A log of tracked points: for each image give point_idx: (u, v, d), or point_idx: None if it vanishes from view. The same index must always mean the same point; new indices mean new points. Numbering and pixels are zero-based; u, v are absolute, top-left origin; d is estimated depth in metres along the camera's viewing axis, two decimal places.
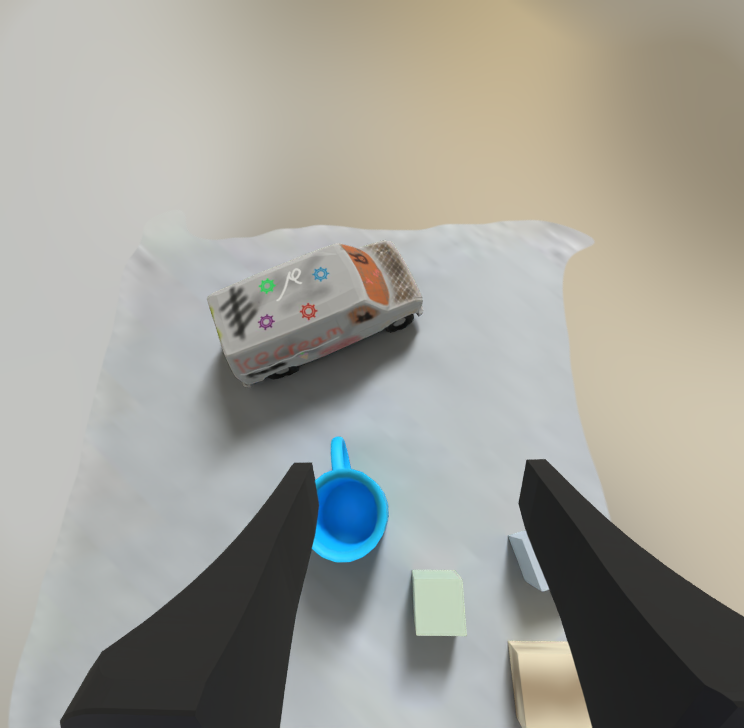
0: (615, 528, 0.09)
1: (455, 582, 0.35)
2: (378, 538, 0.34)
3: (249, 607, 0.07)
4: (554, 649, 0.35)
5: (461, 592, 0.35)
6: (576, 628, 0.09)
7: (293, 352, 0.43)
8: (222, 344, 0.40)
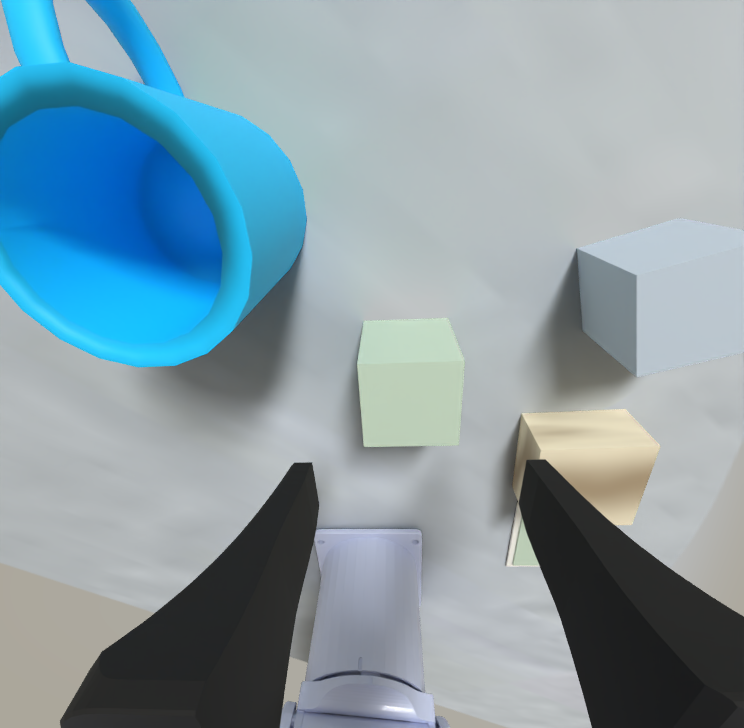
0: (615, 528, 0.09)
1: (448, 367, 0.16)
2: (237, 308, 0.11)
3: (249, 607, 0.07)
4: (602, 433, 0.20)
5: (459, 383, 0.16)
6: (576, 628, 0.09)
7: None
8: None
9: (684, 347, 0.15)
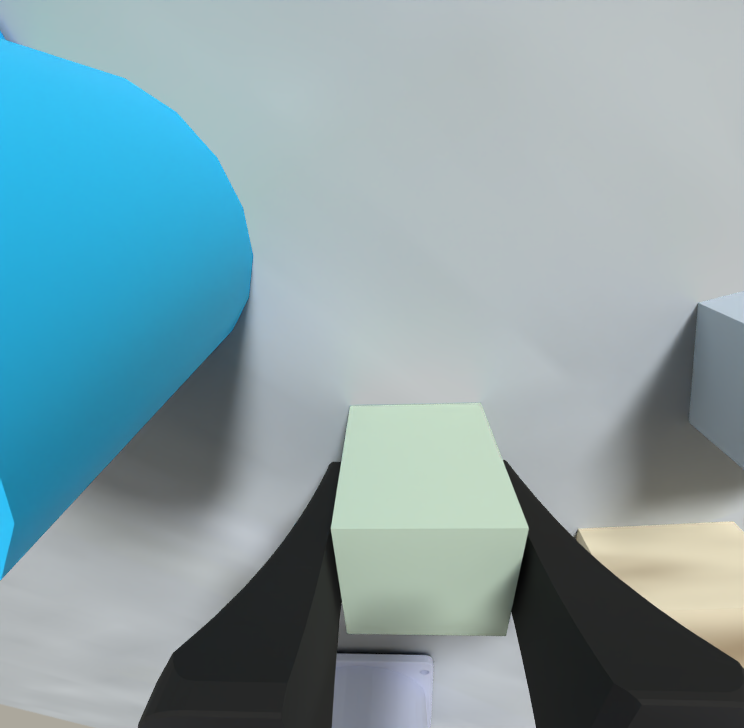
0: (561, 528, 0.09)
1: (498, 536, 0.09)
2: None
3: (312, 608, 0.07)
4: (712, 574, 0.13)
5: (515, 558, 0.09)
6: (524, 627, 0.09)
7: None
8: None
9: None
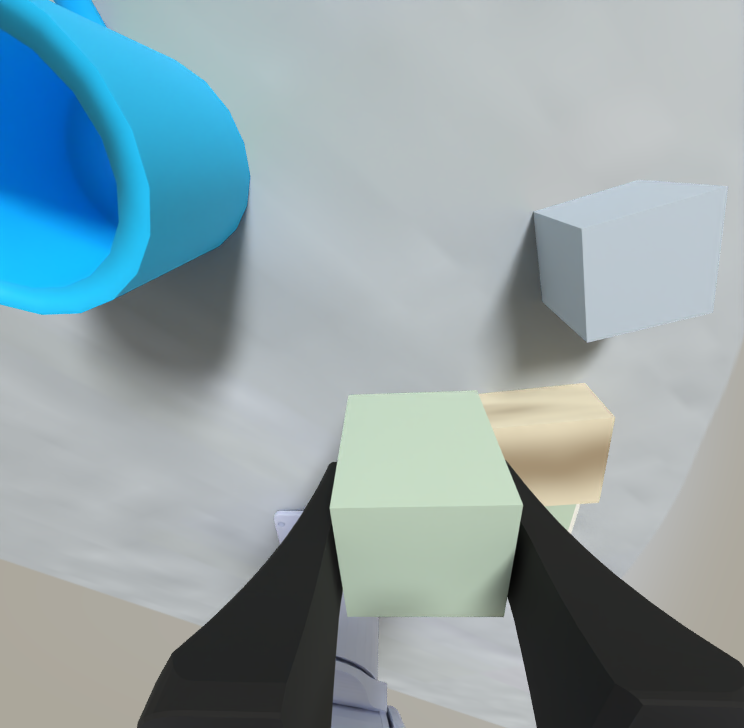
0: (561, 528, 0.09)
1: (493, 513, 0.09)
2: (140, 247, 0.11)
3: (311, 608, 0.07)
4: (557, 408, 0.20)
5: (510, 536, 0.09)
6: (524, 627, 0.09)
7: None
8: None
9: (635, 310, 0.14)
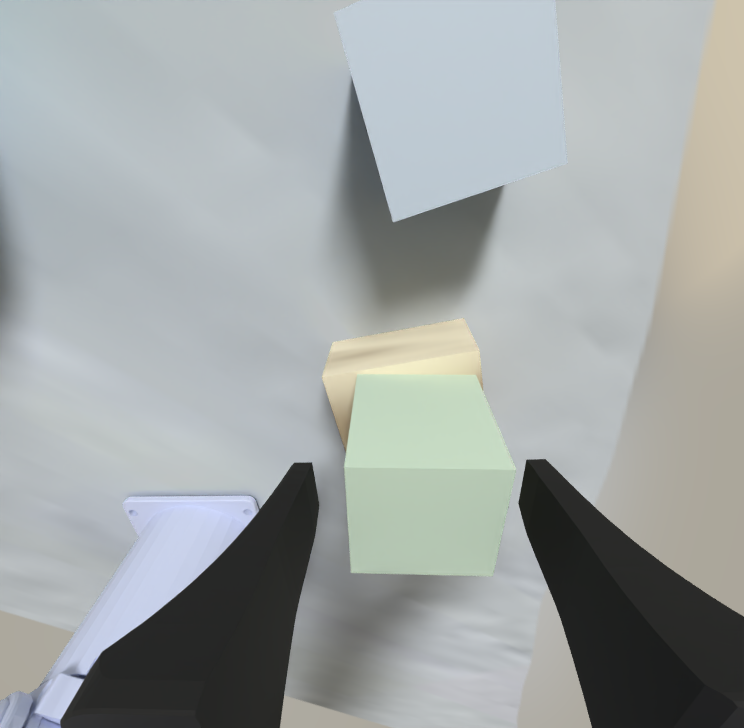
0: (615, 528, 0.09)
1: (490, 477, 0.10)
2: None
3: (249, 607, 0.07)
4: (414, 347, 0.15)
5: (503, 499, 0.10)
6: (576, 628, 0.09)
7: None
8: None
9: (451, 163, 0.09)
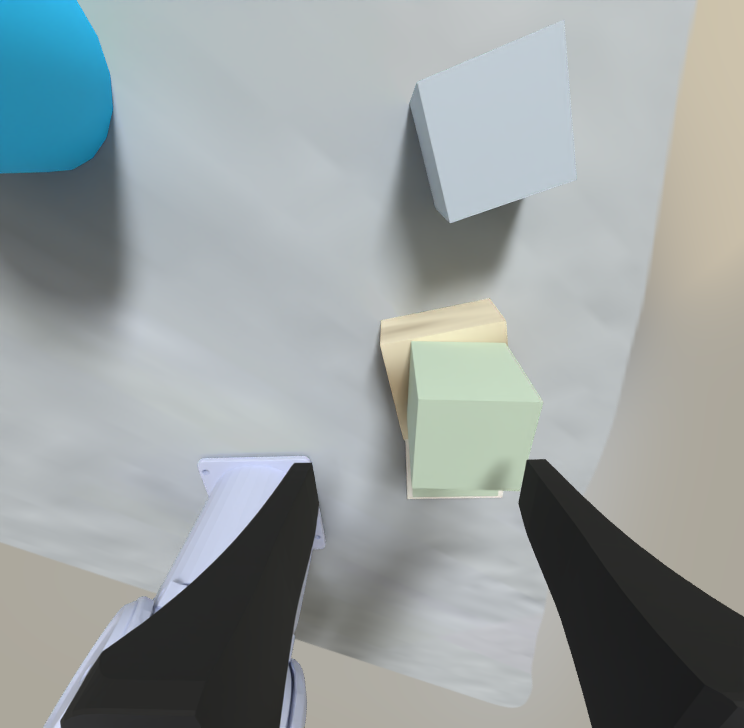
0: (615, 528, 0.09)
1: (523, 408, 0.14)
2: None
3: (249, 607, 0.07)
4: (452, 321, 0.19)
5: (532, 426, 0.14)
6: (576, 628, 0.09)
7: None
8: None
9: (494, 180, 0.13)
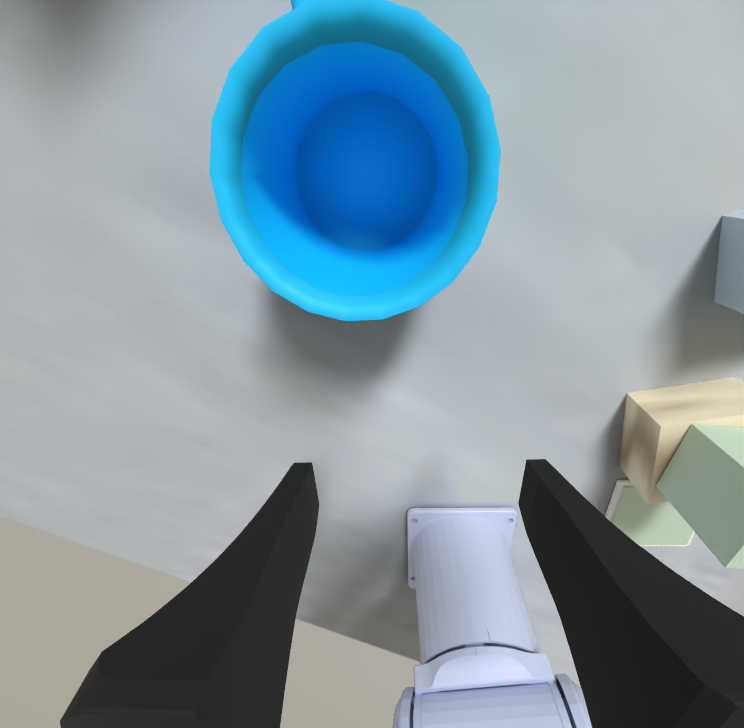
0: (615, 528, 0.09)
1: None
2: (465, 257, 0.11)
3: (249, 607, 0.07)
4: (720, 403, 0.20)
5: None
6: (576, 628, 0.09)
7: None
8: None
9: None
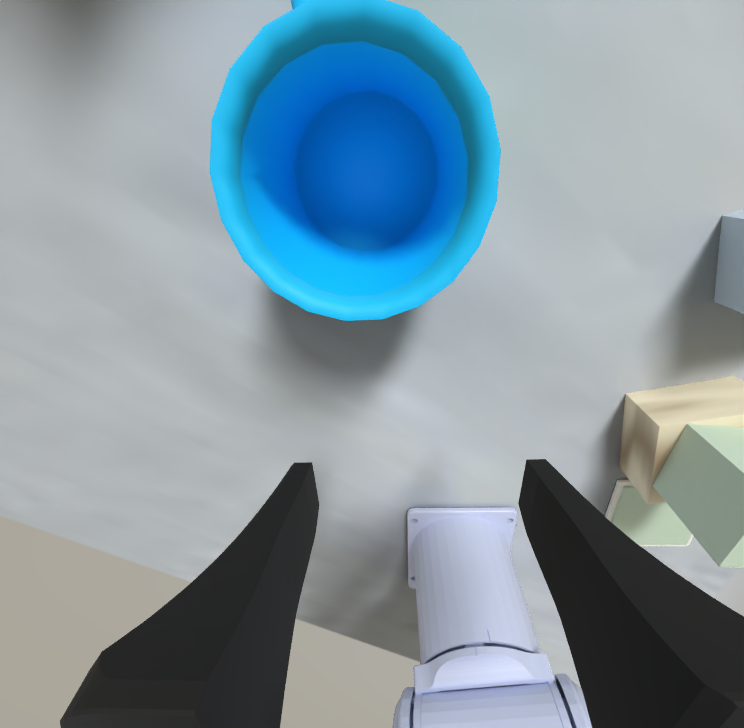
0: (615, 528, 0.09)
1: None
2: (465, 257, 0.11)
3: (249, 607, 0.07)
4: (719, 402, 0.20)
5: None
6: (576, 628, 0.09)
7: None
8: None
9: None
